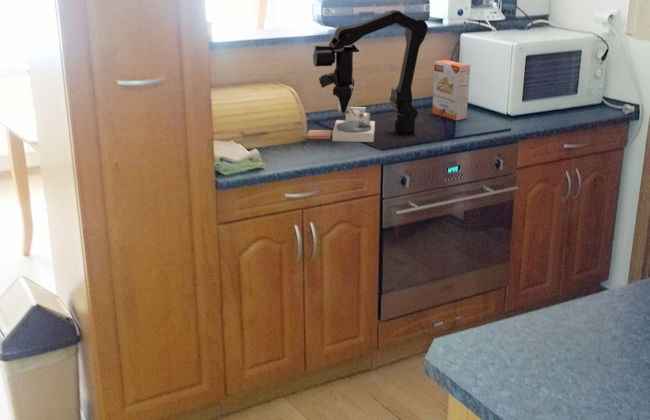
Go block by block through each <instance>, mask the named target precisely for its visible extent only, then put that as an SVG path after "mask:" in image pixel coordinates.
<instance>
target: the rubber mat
mask: <svg viewBox="0 0 650 420" xmlns="http://www.w3.org/2000/svg"><path fill="white" fill-rule="evenodd" d="M307 132H308V133H307V134H306V139H310V140H311V139H313V140H314V139H316V140H318V139H319V140H323V139H324V140H331V138H332V132H333V130H330V129H328V130H327V129H326V130H325V129H309V130H308V131H307Z"/></svg>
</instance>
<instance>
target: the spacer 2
mask: <svg viewBox="0 0 650 420" xmlns="http://www.w3.org/2000/svg"><path fill="white" fill-rule="evenodd" d="M370 121H371V113H370V112H360V113H359V117H358V127H362V128H367V127H370Z"/></svg>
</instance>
